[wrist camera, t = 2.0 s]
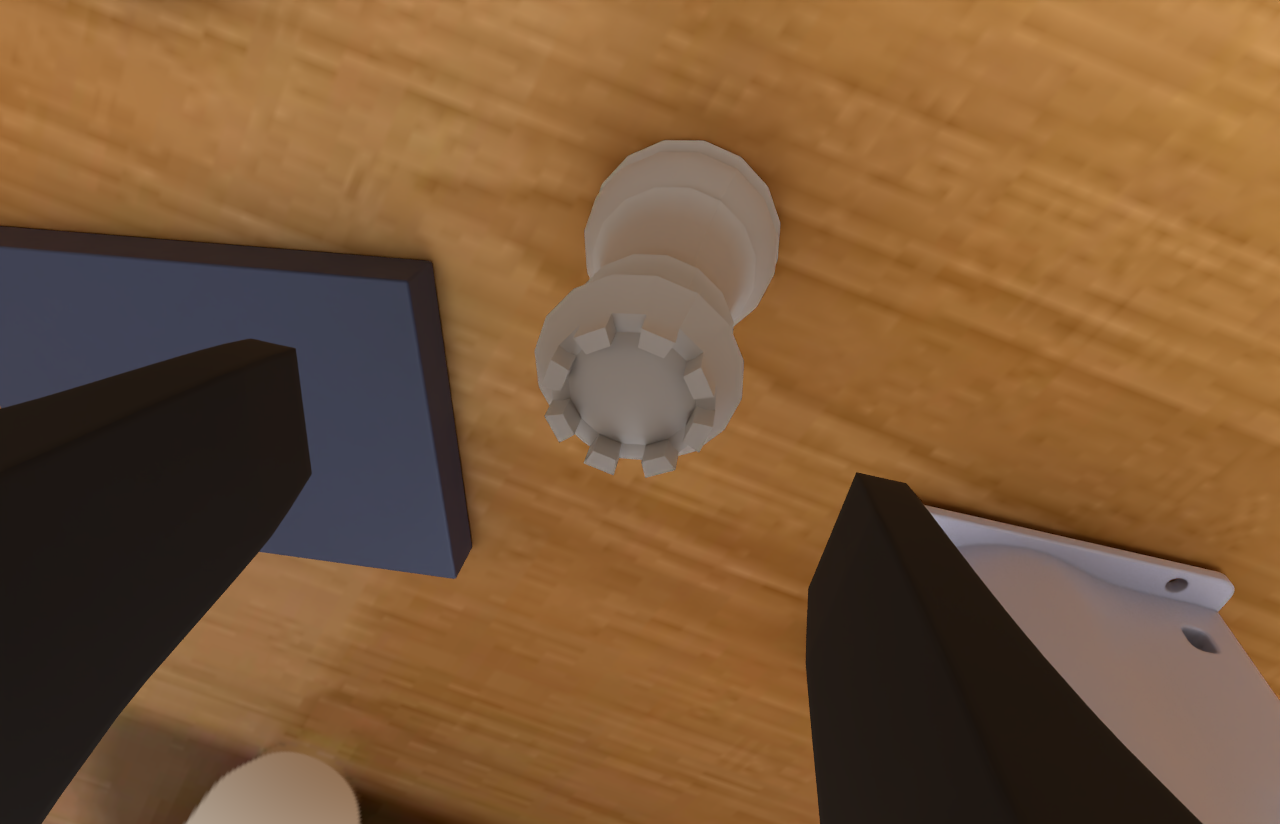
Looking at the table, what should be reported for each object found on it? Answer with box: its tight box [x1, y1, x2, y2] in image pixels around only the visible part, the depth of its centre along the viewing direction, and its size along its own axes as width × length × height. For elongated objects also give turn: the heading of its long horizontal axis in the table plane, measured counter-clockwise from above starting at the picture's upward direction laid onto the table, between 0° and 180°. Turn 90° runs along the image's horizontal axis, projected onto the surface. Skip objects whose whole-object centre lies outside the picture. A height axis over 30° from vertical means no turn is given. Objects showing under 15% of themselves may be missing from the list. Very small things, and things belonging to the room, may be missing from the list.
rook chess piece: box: [535, 140, 780, 478], centre depth 13 cm, size 4×4×8 cm
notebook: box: [0, 226, 472, 579], centre depth 21 cm, size 14×10×2 cm
